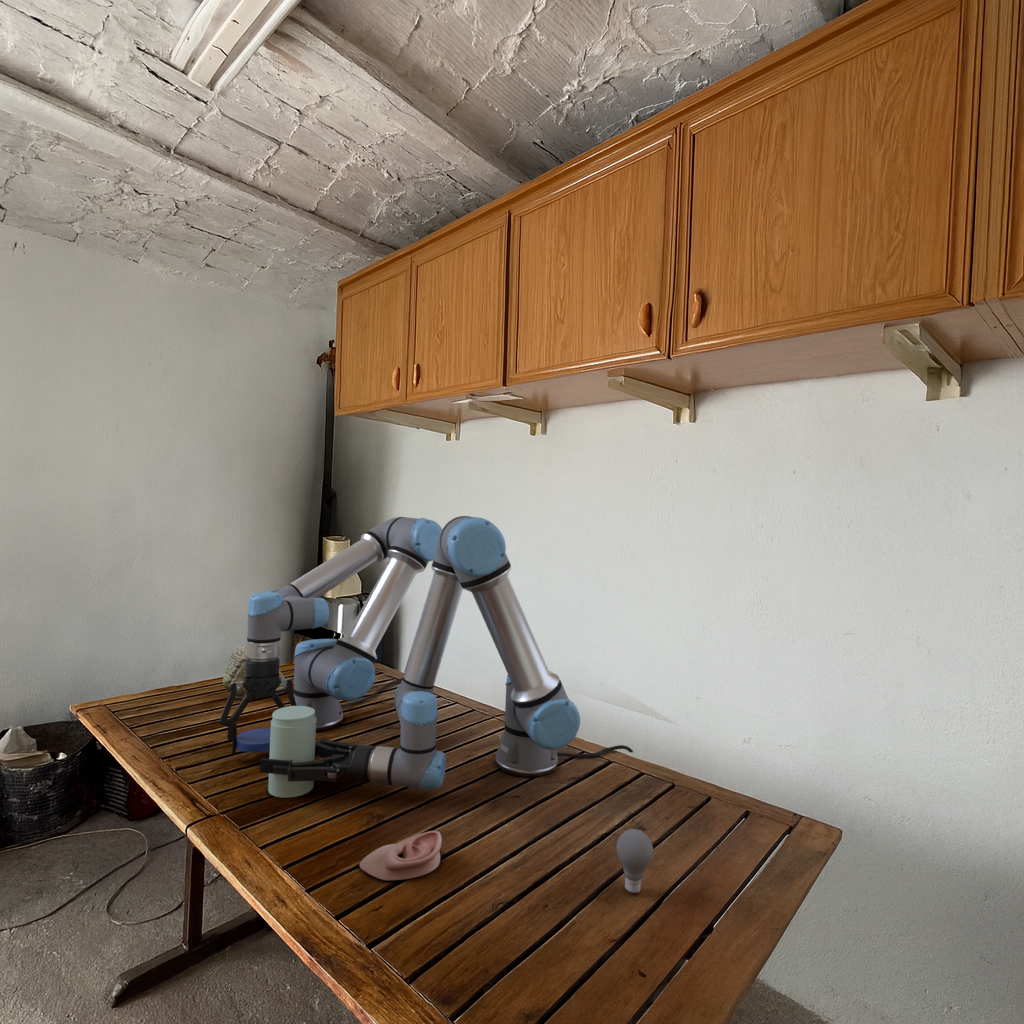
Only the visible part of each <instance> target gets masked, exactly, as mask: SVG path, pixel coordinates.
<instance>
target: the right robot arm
mask: <svg viewBox="0 0 1024 1024" xmlns="http://www.w3.org/2000/svg"><path fill="white" fill-rule="evenodd" d="M506 550H507V545H506V540H505V537H504V535H503V533H502V532H501V530H500V529H499V527H497V526H496V525H495V524H494V523H493V522H491V521H490V520H488V519H485V518H483V517H478V516H470V515H460V516H456V517H453V518H452V519H450V520H449V521H448V522H447V523H445V525H444V526H443V527H442V530H441V533H440V535H439V539H438V543H437V547H436V552H435V556H434V559H433V561H432V564H431V569H432V571H433V575H432V578H431V581H430V585H429V589H428V591H427V595H426V598H425V602H424V605H423V608H422V612H421V615H420V617H419V621H418V625H417V628H416V632H415V635H414V638H413V642H412V645H411V648H410V652H409V655H408V658H407V661H406V665H405V668H404V672H403V675H402V678H403V679H402V681H400V684H399V685H398V687H397V688H396V690H395V692H394V696H393V703H394V705H393V706H394V708H395V710H396V713H397V716H398V720H399V724H400V741H399V742H400V743H399V747H394V746H393V747H392V746H391V747H390V746H382V745H378V746H376V747H375V746H374V745H367V744H354V743H353V744H352V743H351V744H350V743H345V742H339V741H335V740H330V739H325V738H320V739H318V741H315V758H316V757H320V758H322V759H320V760H319V759H317V760H315V761H309V762H299V763H292V760H290V761H288V760H277V759H269V758H266V757H265V758H264V757H262V758H261V759H260V761H259V763H260V764H259V773H262V774H269V773H271V774H282V775H288V781H314V782H330V783H331V782H332V783H335V782H337V781H338V777H339V776H344V775H345V776H346V775H348V776H349V778H350V780H351V782H352V783H356V784H366V785H367V784H369V783H370V784H372V785H382V786H383V787H387V786H390V787H391V786H392V787H402V788H411V789H418V790H437V789H440V788H441V787H442V785H443V783H444V781H445V777H446V776H445V775H446V768H447V756H446V754H445V752H443V751H440V750H437V743H436V741H437V725H438V724H437V723H438V714H439V710H438V697H437V696H436V695H435V694H434V693H433V690H434V687H435V683H436V680H437V677H438V673H439V669H440V666H441V663H442V660H443V657H444V653H445V650H446V646H447V643H448V640H449V637H450V633H451V630H452V627H453V624H454V620H455V617H456V613H457V610H458V607H459V603H460V600H461V597H462V594H463V591H464V590H465V591H466V592H470V593H471V595H472V596H473V598H474V601H475V603H476V605H477V608H478V609H479V612H480V615H481V617H482V619H483V621H484V623H485V627H486V628H487V630H488V633H489V634H490V636H491V638H492V641H493V643H494V646H495V648H496V651H497V653H498V655H499V657H500V659H501V662H502V664H503V666H504V668H505V671H506V673H507V675H506V682H505V707H504V728H503V729H504V731H503V734H502V737H501V739H500V742H499V745H498V747H497V750H496V752H495V765H496V767H497V768H498V769H499V770H500V771H502V772H504V773H507V774H510V775H513V776H518V777H525V778H534V777H535V778H537V777H543V776H547V775H549V774H552V773H554V772H555V771H556V770H557V769H558V767H559V757H567V758H595V757H600V756H602V755H603V754H605V753H607V752H612V751H617V750H626V751H627V752H629V753H634V750H633V749H632V748H631V747H629V746H627V745H623V744H619V745H614V746H609V747H605V748H601V750H599V751H596V752H591V753H572V752H558V751H557V750H560V749H563V748H565V747H566V746H567V745H569V744H570V743H571V742H573V741H574V739H575V738H576V736H577V734H578V732H579V729H580V727H581V716H580V712H579V709H578V707H577V705H576V704H575V703H574V702H573V701H572V700H571V699H570V698H569V697H568V694H567V692H566V690H565V687H564V685H563V682H562V681H561V678H560V676H559V675H558V674H557V673H555V672H553V671H552V670H549V668H548V665H547V663H546V661H545V659H544V655H543V654H542V651H541V649H540V647H539V645H538V643H537V640H536V638H535V636H534V633H533V630H532V628H531V626H530V624H529V621H528V619H527V616H526V615H525V612H524V610H523V607H522V606H521V602H520V601H519V599H518V598H519V597H518V596H517V594H516V591H515V589H514V587H513V585H512V582H511V580H510V577H509V574H510V572H511V569H512V565H511V562H510V560H509V558H508V555H507V553H506Z"/></svg>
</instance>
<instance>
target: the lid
mask: <svg viewBox="0 0 1024 1024" xmlns="http://www.w3.org/2000/svg"><path fill="white" fill-rule="evenodd" d="M270 730H271V728H254V729H250V730H246V731H243V732H241V733H239V734H237V737H236V750H238V751H239V752H244V753H251V754H253V753H255V754H256V753H264V752H265V753H266V752H270Z"/></svg>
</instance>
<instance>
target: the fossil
mask: <svg viewBox="0 0 1024 1024" xmlns="http://www.w3.org/2000/svg"><path fill="white" fill-rule="evenodd" d="M246 650H247V646H246V647H245V646H238V647H237V648H236V649H235V650H233V651H232V653H231V656H230V657H229V659H228V660H227V663H226V666H225V668H224V671H223V675H222V676H223V677H222V685H223V687H224V688H225V690H226V691H228V693H230V691H231V682H232V681H236V682H240V681H243V680H244V679H245V672H246V660H247V659H248V658H247V657H246ZM279 677H280V679H286V678H285V676H284V674H283V673H282V672H281V669H279ZM275 691H276V692H277V694H278V695H281V694H284V693H285V691H287V690H286V688H284V687H283V684H280V685H279V686H278V688H277V689H276V690H275ZM246 693H247V690H246V689H245V688H244V687H243V686H242V687H241V688H240V690H239V691H237V692H236V696H235V699H243V698H244V696H245V694H246Z"/></svg>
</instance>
